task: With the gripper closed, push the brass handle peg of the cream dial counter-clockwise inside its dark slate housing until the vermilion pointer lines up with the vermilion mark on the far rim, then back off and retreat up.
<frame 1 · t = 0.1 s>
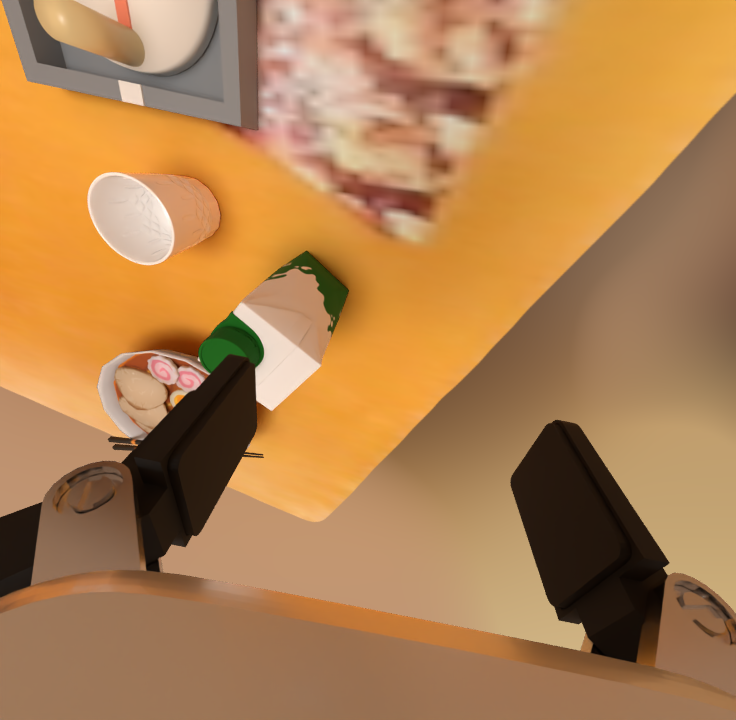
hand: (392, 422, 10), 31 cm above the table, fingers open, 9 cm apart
milk carton: (312, 289, 41), on the table
ramen bowl: (203, 386, 52), on the table
white cup: (194, 208, 37), on the table
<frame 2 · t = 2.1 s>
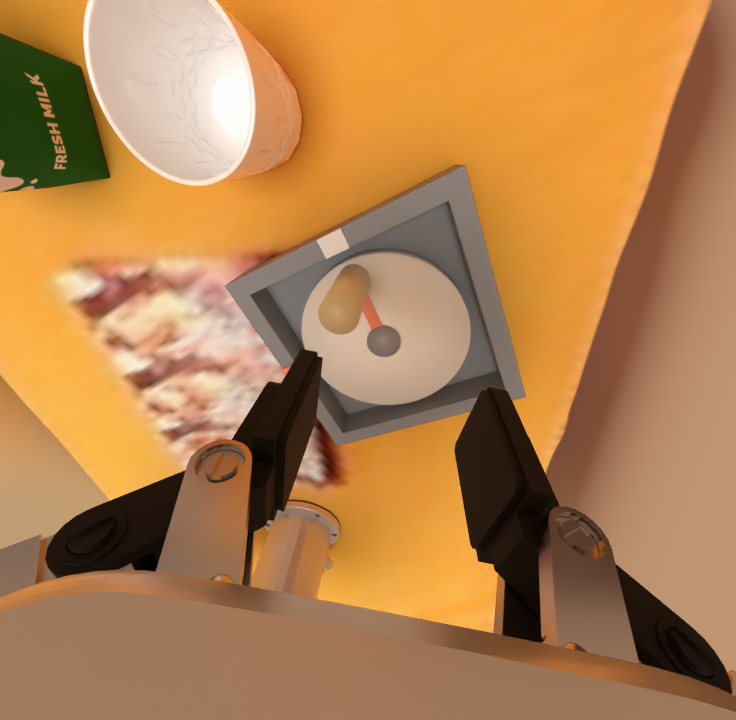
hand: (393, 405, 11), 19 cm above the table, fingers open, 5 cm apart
milk carton: (53, 118, 24), on the table
dial housing: (385, 324, 31), on the table
dial: (382, 355, 26), point 6 cm above the table, hinge at 0.0°
white cup: (258, 115, 23), on the table
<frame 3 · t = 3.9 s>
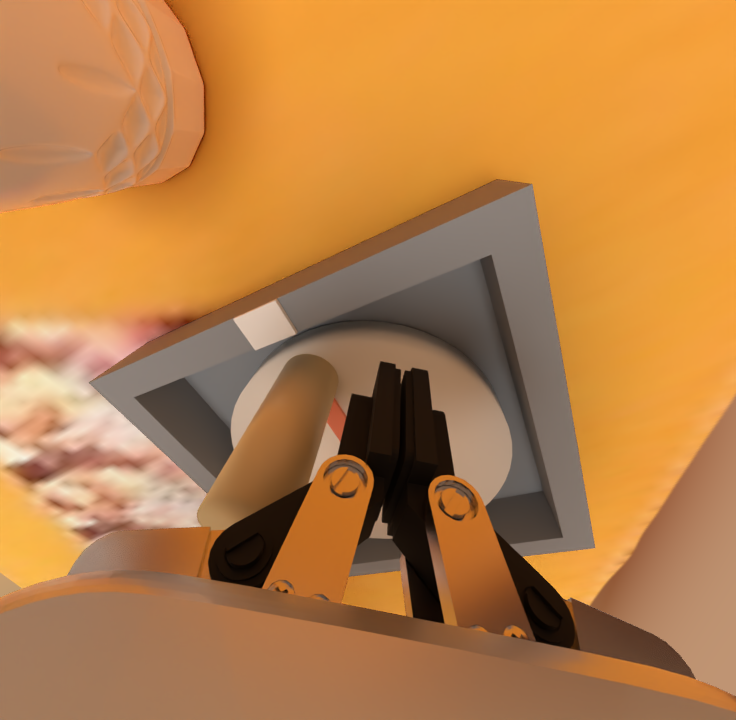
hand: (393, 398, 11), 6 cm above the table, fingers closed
dial housing: (371, 420, 20), on the table
dial: (361, 504, 15), point 6 cm above the table, hinge at 0.7°, touching gripper
white cup: (125, 83, 12), on the table
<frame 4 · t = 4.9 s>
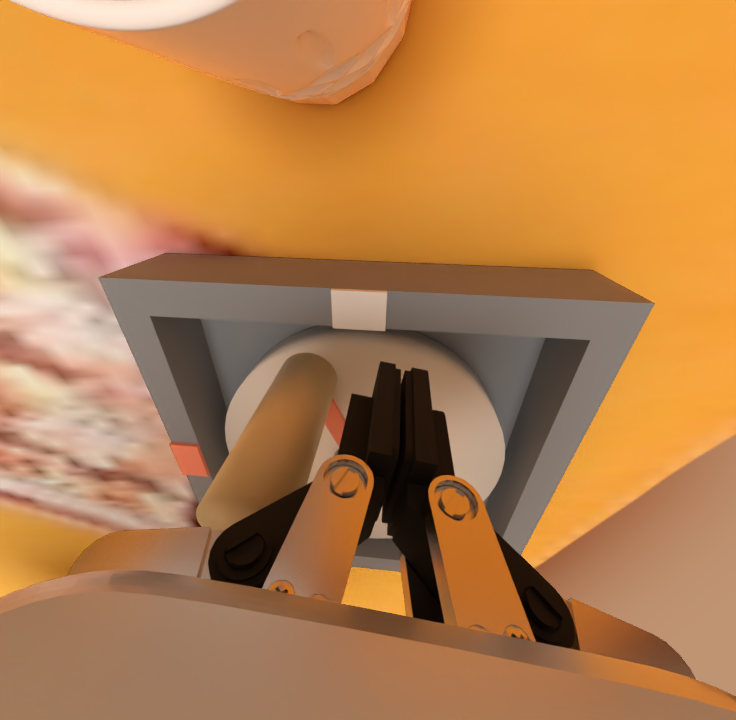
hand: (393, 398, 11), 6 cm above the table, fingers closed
dial housing: (366, 420, 20), on the table
dial: (354, 504, 15), point 6 cm above the table, hinge at 23.5°, touching gripper
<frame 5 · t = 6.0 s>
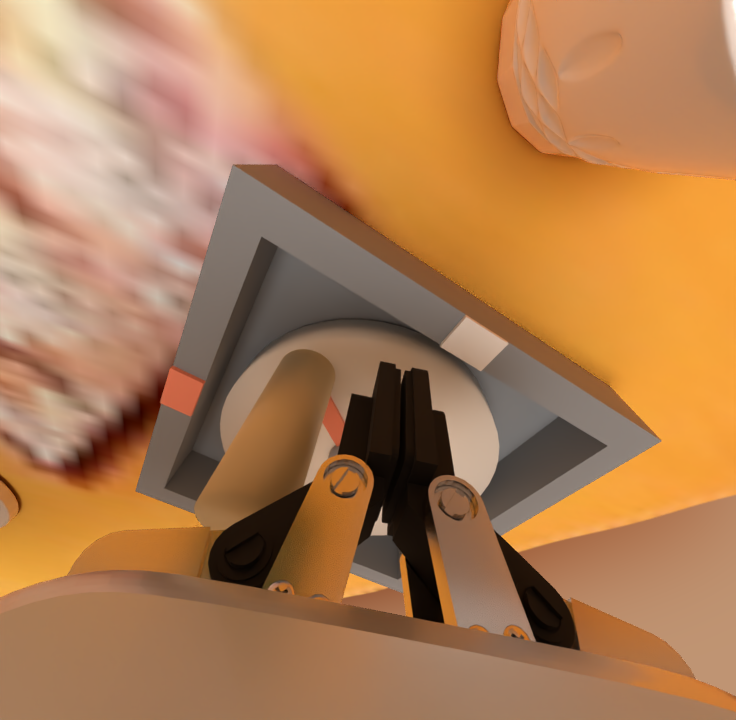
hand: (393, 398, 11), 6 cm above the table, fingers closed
dial housing: (361, 418, 20), on the table
dial: (349, 501, 15), point 6 cm above the table, hinge at 51.9°, touching gripper
white cup: (599, 37, 10), on the table
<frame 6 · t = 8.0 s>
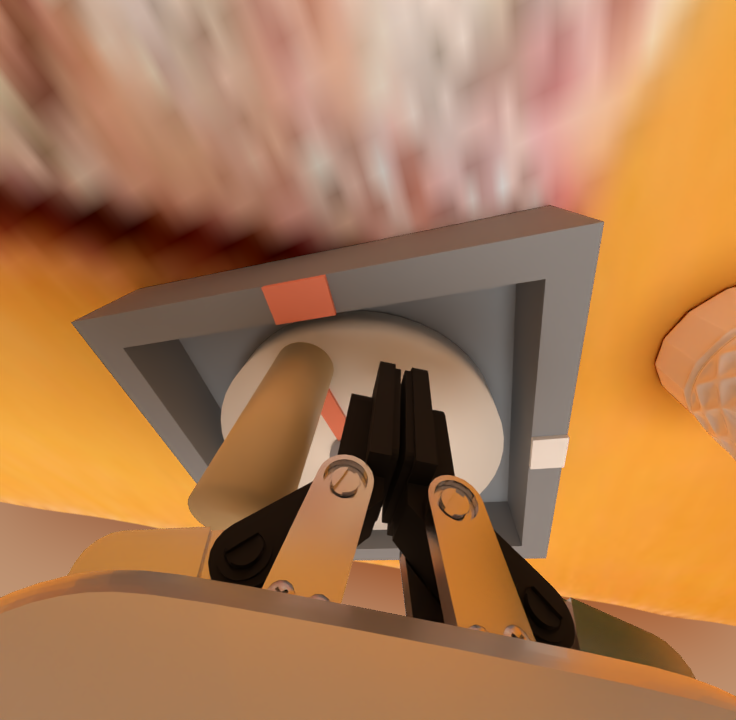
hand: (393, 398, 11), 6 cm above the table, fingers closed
dial housing: (364, 412, 20), on the table
dial: (352, 495, 15), point 6 cm above the table, hinge at 100.7°, touching gripper
white cup: (730, 340, 15), on the table
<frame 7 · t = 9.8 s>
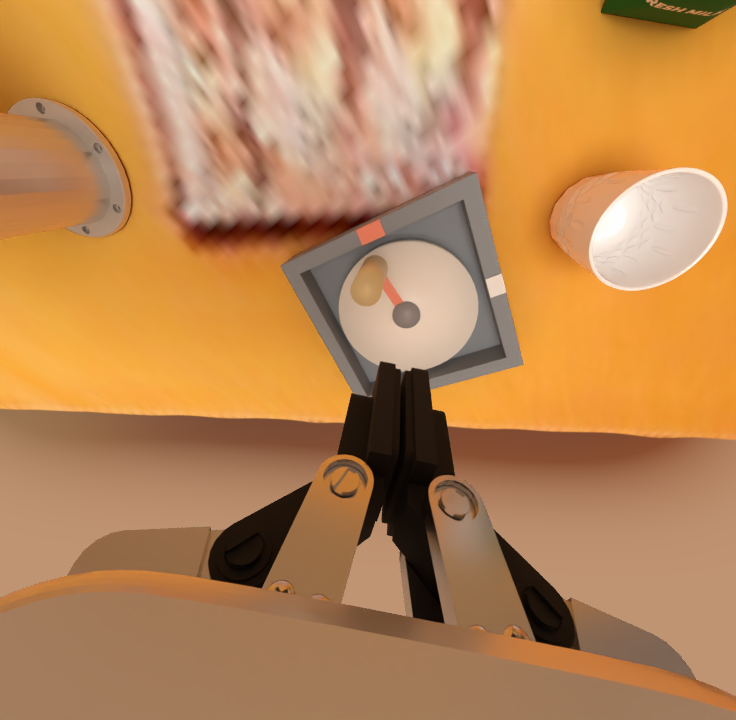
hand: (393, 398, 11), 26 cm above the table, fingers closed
dial housing: (407, 303, 37), on the table
dial: (405, 324, 32), point 6 cm above the table, hinge at 100.9°
white cup: (586, 214, 30), on the table
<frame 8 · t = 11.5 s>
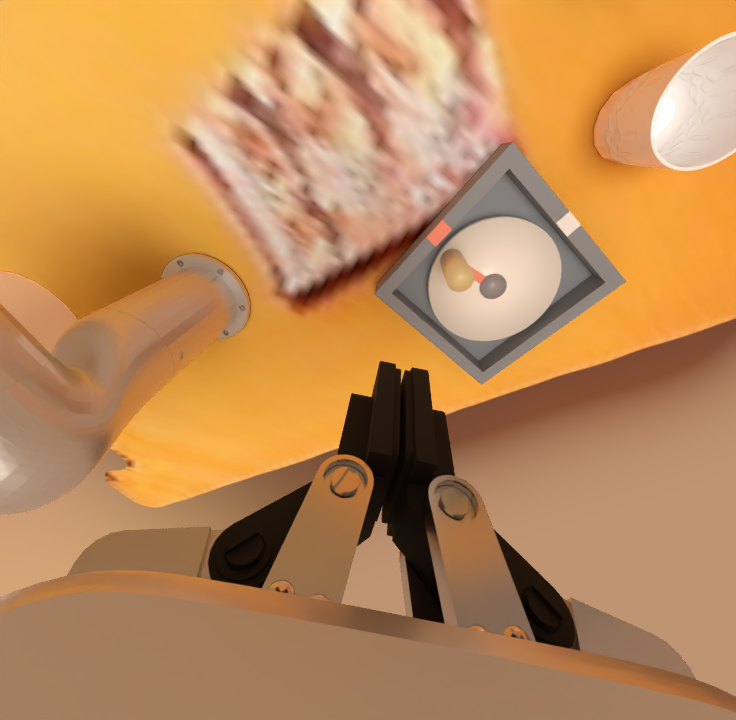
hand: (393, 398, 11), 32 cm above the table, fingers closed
dial housing: (486, 277, 40), on the table
cylinder: (34, 322, 51), on the table
dial: (497, 293, 35), point 6 cm above the table, hinge at 100.9°
white cup: (629, 121, 31), on the table
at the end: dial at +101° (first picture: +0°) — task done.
